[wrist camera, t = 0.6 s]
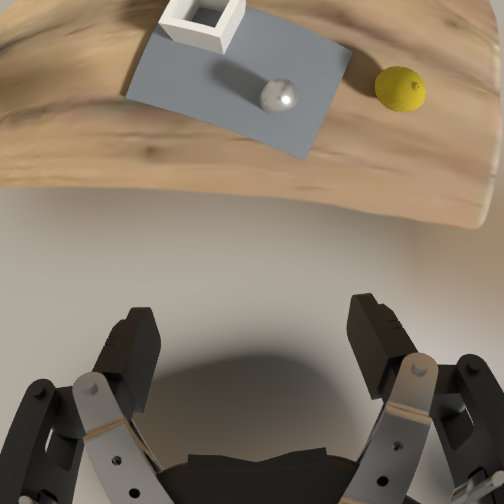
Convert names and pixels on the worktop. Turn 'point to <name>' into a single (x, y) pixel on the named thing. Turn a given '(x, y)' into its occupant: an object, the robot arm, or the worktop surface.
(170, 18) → the duct collar
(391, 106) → the lemon
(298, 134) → the duct base
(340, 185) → the worktop surface
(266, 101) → the silver metal capsule
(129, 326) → the robot arm
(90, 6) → the worktop surface
